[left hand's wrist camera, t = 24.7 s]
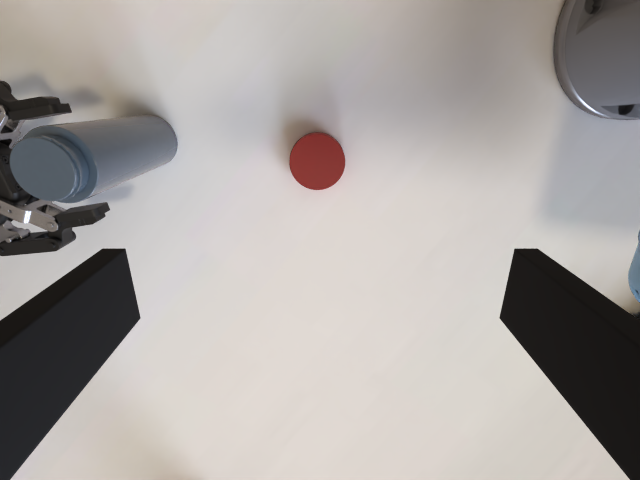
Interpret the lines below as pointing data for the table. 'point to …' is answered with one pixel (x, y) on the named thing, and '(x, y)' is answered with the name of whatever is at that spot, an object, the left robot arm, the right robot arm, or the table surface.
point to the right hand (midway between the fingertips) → (85, 160)
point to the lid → (317, 161)
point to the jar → (90, 156)
